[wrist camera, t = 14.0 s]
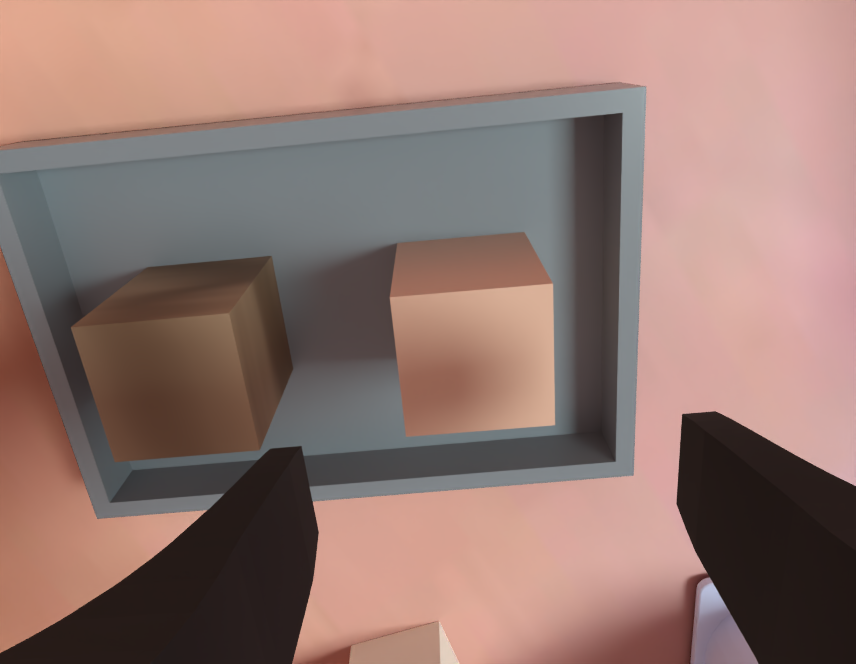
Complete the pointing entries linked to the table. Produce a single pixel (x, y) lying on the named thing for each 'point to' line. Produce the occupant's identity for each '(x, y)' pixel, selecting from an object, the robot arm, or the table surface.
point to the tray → (347, 274)
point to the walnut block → (188, 359)
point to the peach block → (473, 334)
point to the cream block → (406, 648)
